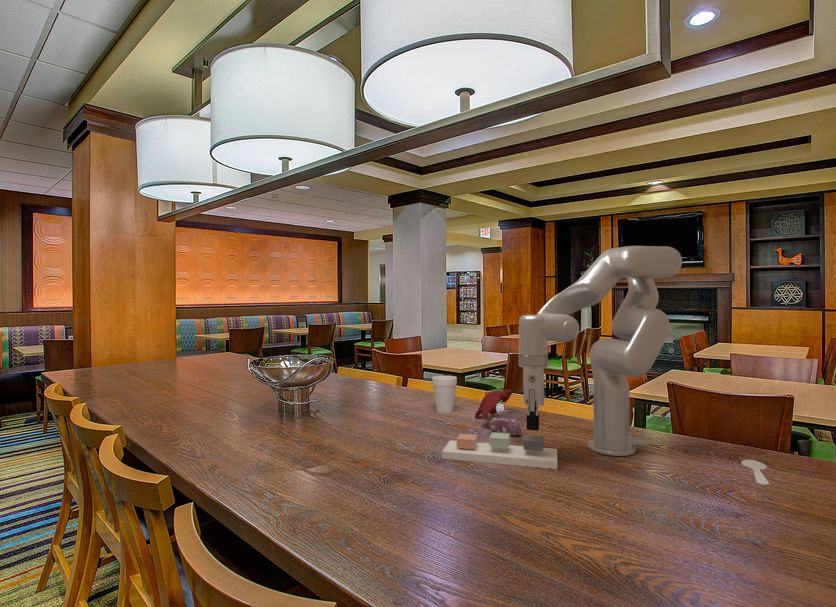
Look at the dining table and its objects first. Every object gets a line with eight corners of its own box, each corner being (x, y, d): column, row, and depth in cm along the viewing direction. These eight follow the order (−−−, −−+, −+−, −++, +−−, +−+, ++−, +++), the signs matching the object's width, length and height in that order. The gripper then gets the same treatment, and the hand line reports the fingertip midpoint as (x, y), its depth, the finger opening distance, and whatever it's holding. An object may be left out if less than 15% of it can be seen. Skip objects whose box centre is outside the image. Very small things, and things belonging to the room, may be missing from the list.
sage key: (509, 442, 128) (509, 433, 128) (508, 448, 123) (508, 439, 123) (491, 441, 129) (491, 432, 129) (489, 446, 125) (489, 437, 125)
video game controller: (489, 438, 149) (485, 421, 146) (493, 428, 152) (490, 411, 150) (519, 442, 144) (516, 425, 141) (522, 432, 148) (520, 415, 145)
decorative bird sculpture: (475, 442, 154) (505, 412, 149) (456, 421, 157) (485, 390, 152) (499, 421, 179) (525, 395, 175) (482, 403, 182) (507, 377, 178)
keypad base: (557, 456, 127) (556, 448, 127) (557, 469, 117) (557, 461, 117) (450, 447, 135) (450, 440, 135) (442, 458, 126) (442, 451, 126)
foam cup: (428, 410, 180) (428, 376, 180) (449, 407, 184) (449, 374, 184) (439, 415, 172) (439, 380, 171) (461, 412, 175) (461, 378, 175)
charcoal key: (543, 445, 126) (543, 436, 125) (543, 451, 121) (543, 441, 121) (524, 443, 127) (524, 434, 127) (523, 449, 122) (523, 440, 122)
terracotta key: (477, 443, 131) (477, 434, 131) (474, 449, 126) (474, 440, 126) (460, 442, 132) (460, 433, 132) (456, 447, 127) (456, 438, 127)
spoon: (749, 483, 108) (749, 481, 108) (739, 459, 124) (739, 457, 124) (778, 488, 106) (778, 485, 106) (763, 463, 122) (763, 461, 122)
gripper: (547, 365, 115) (547, 438, 115) (548, 358, 130) (547, 423, 130) (516, 364, 117) (516, 436, 118) (520, 357, 132) (520, 421, 132)
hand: (532, 429), depth 124 cm, fingers closed
